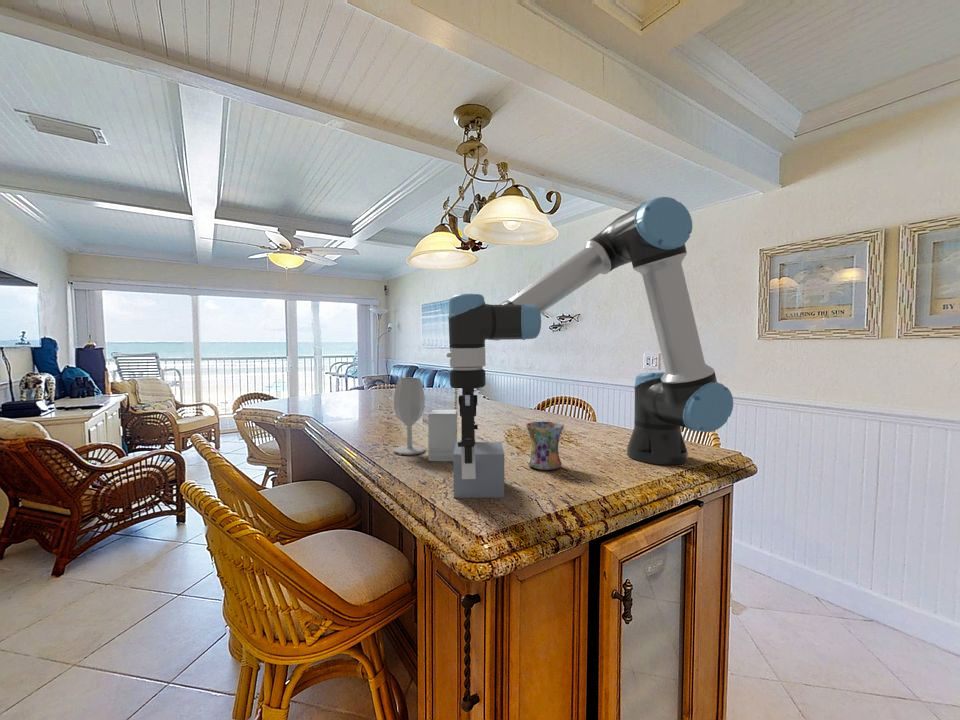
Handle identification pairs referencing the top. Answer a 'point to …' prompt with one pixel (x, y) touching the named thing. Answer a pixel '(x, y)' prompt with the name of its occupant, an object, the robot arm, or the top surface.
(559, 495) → the top surface
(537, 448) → the mug
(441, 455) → the supplement box
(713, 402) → the robot arm
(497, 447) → the gray tilted carton
